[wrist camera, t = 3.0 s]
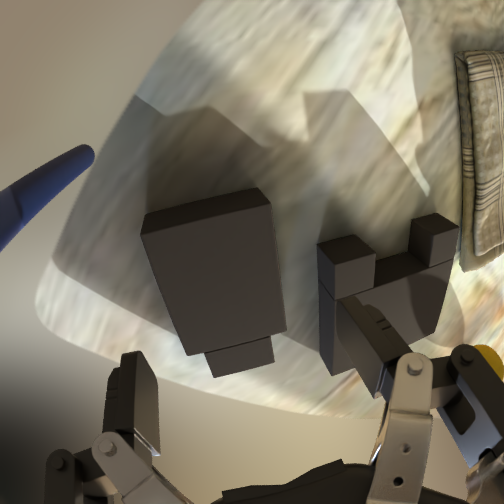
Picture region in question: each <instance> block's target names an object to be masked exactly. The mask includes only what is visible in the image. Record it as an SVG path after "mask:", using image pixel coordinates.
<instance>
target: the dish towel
mask: <svg viewBox="0 0 504 504" xmlns="http://www.w3.org/2000/svg"><path fill="white" fill-rule="evenodd" d="M455 61H456V65H457V77H458V90H459V104H460V116H461V131H462V152H463V184H464V186H463V219H462V241H461V252H460V259H459V265H460V266H461V268H462V271H463V272H468V271H473V270H478V269H479V268H482V267H484V266H485V265H486V264H488V263H489V262H492V261H493V260H494V259H495V258H497V257H499V256H500V255H502V254H503V253H504V52H501V51H483V50H474V51H461V52H457V53H455Z"/></svg>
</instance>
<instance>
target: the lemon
mask: <svg viewBox="0 0 504 504" xmlns="http://www.w3.org/2000/svg"><path fill="white" fill-rule="evenodd" d="M473 347H475V348H476V349H478V350H479V352H480V353H481V354H482V355H483V357H484V358H485V359H486V360H487V362H488V363H489V364H490V366H491V367H492V368H493V369H494V371H495V372H496V373H497V375H498V376H499V377H500V379H501V380H502V381H503V378H504V365H503V362H502V360H501V358H500V357H499V355H498V354H497V353H496V352H495V351H494V350H493V349H492V348H491V347H489V346H487V345H475V346H473Z"/></svg>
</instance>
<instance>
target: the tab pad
mask: <svg viewBox="0 0 504 504" xmlns="http://www.w3.org/2000/svg"><path fill="white" fill-rule="evenodd" d="M140 236H141V239H142V242H143V245H144V248H145V250H146V253H147V256H148V259H149V262H150V265H151V267H152V270H153V273H154V276H155V278H156V281H157V284H158V286H159V289H160V292H161V294H162V297H163V299H164V302H165V304H166V307H167V309H168V312H169V314H170V317H171V319H172V322H173V324H174V327H175V329H176V331H177V334H178V336H179V338H180V341H181V343H182V345H183V348H184V350H185V352H186V354H187V356H191V355H196V354H200V353H204V355H205V357H206V360H207V362H208V365H209V367H210V370H211V372H212V375H213V377H214V378H217V377H221V376H225V375H229V374H233V373H237V372H241V371H245V370H249V369H253V368H257V367H260V366H264V365H267V364H271V363H274V362H275V360H274V354H273V348H272V342H271V335H274V334H278V333H281V332H285V331H286V330H287V329H286V320H285V311H284V303H283V294H282V286H281V277H280V269H279V261H278V253H277V246H276V238H275V230H274V223H273V215H272V208H271V203H270V201H269V200H268V199H267V198H266V197H265V196H264V194H263V193H262V192H261V191H260V190H259V189H258V188H253V189H248V190H244V191H239V192H235V193H230V194H226V195H221V196H217V197H213V198H209V199H204V200H200V201H196V202H192V203H188V204H184V205H180V206H176V207H172V208H168V209H164V210H160V211H157V212H153V213H149V214H146V215H145V217H144V221H143V225H142V229H141V233H140Z"/></svg>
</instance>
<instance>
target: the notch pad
mask: <svg viewBox="0 0 504 504" xmlns="http://www.w3.org/2000/svg"><path fill="white" fill-rule="evenodd" d="M458 234H459V226H458V225H456V224H454V223H453V222H451V221H449V220H448V219H446V218H445V217H443V216H441V215H440V214H438V213H435V214H432V215H428V216H424V217H420V218H416V219H413V220H411V228H410V238H409V248H408V251H407V252H404V253H401V254H398V255H395V256H392V257H388V258H385V259H382V260H379V261H376V262H375V259H376V252H375V251H373V250H372V249H371V248H370V247H369V246H368V245H367V244H366V243H364V242H363V241H362V240H361V239H360V238H359V237H358V236H356V235H351V236H347V237H343V238H339V239H335V240H331V241H328V242H324V243H320V244H317V260H318V278H319V279H318V281H319V319H320V356H321V357H322V359H323V361H324V363H325V365H326V367H327V369H328V371H329V372H330V374H331V376H334V375H337V374H340V373H342V372H345V371H348V370H350V369H353V368H355V366H354V365H353V363H352V361H351V360H350V358H349V356H348V355H347V353H346V351H345V350H344V348H343V346H342V345H341V343H340V341H339V339H338V337H337V333H336V303H337V301H339V300H342V299H345V298H349V297H352V296H356V297H357V298H358V300H359V301H360V302H361V303H362V305H363V306H364V305H367V304H370V305H372V306H374V307H375V308H377V309H379V310H380V311H381V312H382V314H383V315H384V316H385V317H386V319H387V320H388V321H389V322H390V323H391V325H392V327H394V328H395V330H396V331H397V332H398V333H399V335H400V336H401V337H402V338H403V340H404V341H405V342H406V344H407V345H409V344H412V343H414V342H416V341H418V340H420V339H422V338H424V337H426V336H428V335H430V334H432V333H434V332H435V329H436V326H437V323H438V319H439V316H440V313H441V309H442V306H443V302H444V298H445V294H446V290H447V286H448V282H449V278H450V274H451V269H452V265H453V260H454V255H455V250H456V245H457V239H458Z"/></svg>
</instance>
